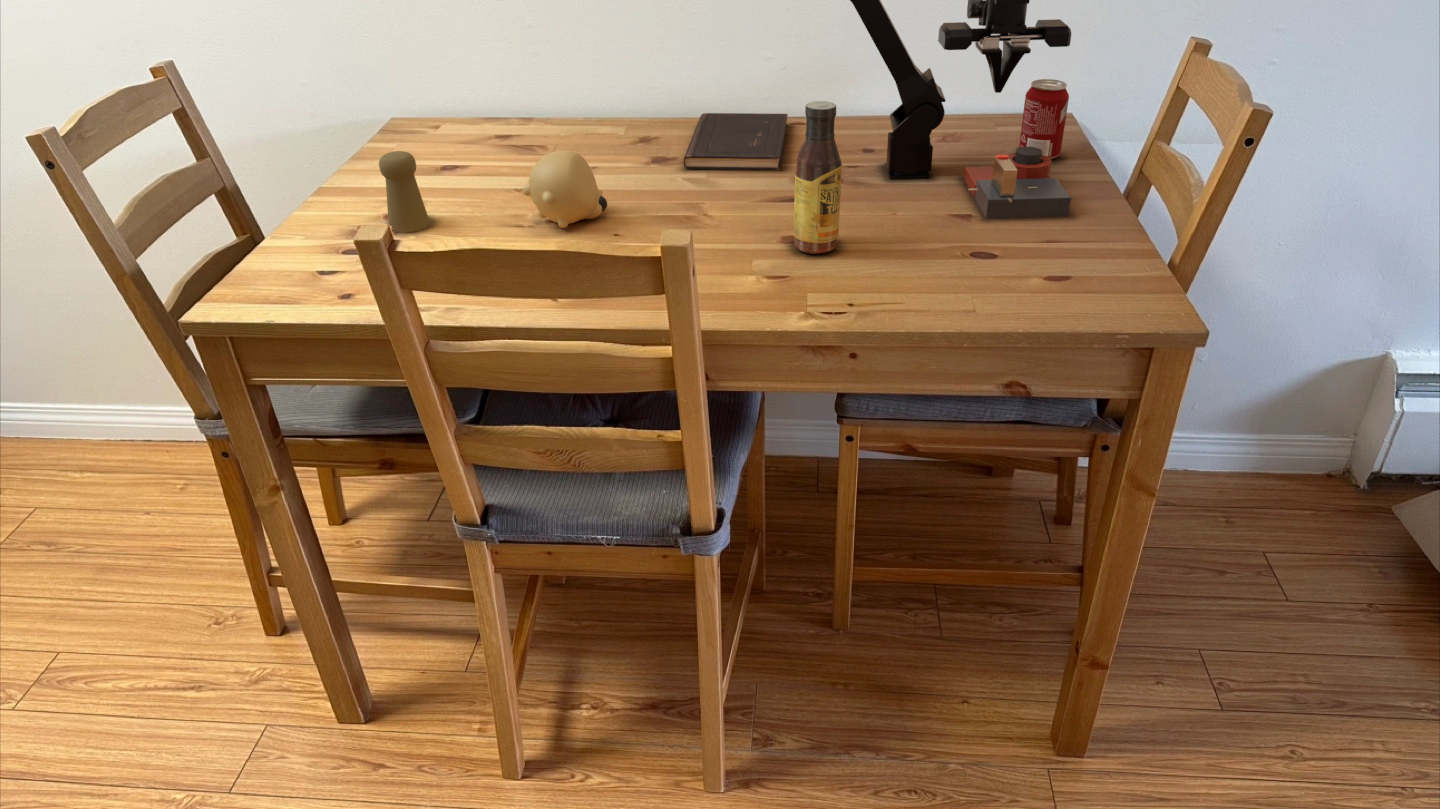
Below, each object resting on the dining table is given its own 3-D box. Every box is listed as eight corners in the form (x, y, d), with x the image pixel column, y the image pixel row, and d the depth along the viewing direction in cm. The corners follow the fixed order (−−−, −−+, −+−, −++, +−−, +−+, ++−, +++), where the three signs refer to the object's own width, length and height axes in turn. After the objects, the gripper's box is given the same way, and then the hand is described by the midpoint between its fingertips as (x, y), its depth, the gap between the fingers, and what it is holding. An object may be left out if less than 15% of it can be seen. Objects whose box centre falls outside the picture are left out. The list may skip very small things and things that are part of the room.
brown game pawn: (393, 236, 155) (378, 163, 149) (384, 222, 160) (369, 151, 154) (434, 227, 158) (421, 155, 152) (424, 214, 162) (411, 144, 156)
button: (1017, 166, 162) (1019, 155, 161) (1011, 157, 166) (1012, 146, 165) (1043, 165, 162) (1045, 154, 161) (1037, 157, 166) (1038, 146, 165)
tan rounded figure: (591, 250, 158) (630, 191, 158) (540, 209, 148) (582, 147, 149) (553, 230, 164) (591, 173, 164) (502, 189, 154) (542, 129, 155)
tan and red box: (1014, 196, 154) (1017, 168, 152) (1000, 196, 154) (1003, 168, 152) (1004, 181, 159) (1008, 154, 157) (991, 181, 159) (994, 154, 157)
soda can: (1050, 165, 172) (1061, 92, 166) (1011, 158, 176) (1020, 85, 169) (1066, 154, 177) (1077, 81, 170) (1028, 146, 180) (1037, 75, 174)
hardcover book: (787, 126, 193) (787, 113, 192) (779, 170, 174) (780, 156, 173) (700, 125, 195) (700, 113, 194) (683, 169, 176) (683, 155, 174)
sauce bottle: (825, 259, 144) (829, 115, 134) (785, 250, 147) (786, 108, 137) (846, 242, 149) (852, 102, 138) (807, 234, 152) (810, 95, 141)
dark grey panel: (973, 222, 154) (975, 202, 152) (959, 196, 162) (961, 176, 161) (1070, 219, 154) (1073, 199, 152) (1051, 194, 162) (1054, 174, 160)
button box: (973, 197, 162) (976, 172, 160) (962, 178, 169) (965, 153, 167) (1055, 195, 162) (1059, 170, 160) (1040, 175, 169) (1044, 151, 167)
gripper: (1058, -28, 162) (1044, 75, 170) (936, -24, 162) (928, 79, 170) (1079, -13, 153) (1063, 96, 161) (949, -9, 153) (940, 99, 161)
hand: (997, 91), depth 164 cm, fingers closed
